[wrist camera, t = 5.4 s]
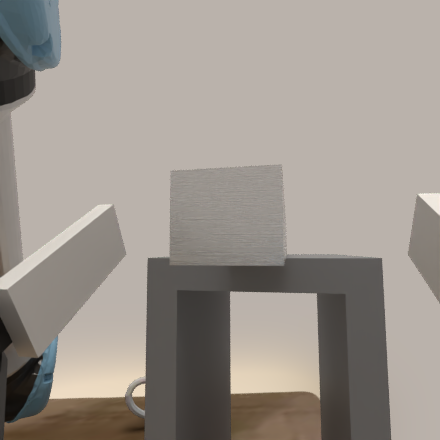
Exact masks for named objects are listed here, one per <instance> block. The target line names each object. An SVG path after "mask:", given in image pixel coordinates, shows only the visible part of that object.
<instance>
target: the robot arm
mask: <svg viewBox="0 0 440 440" xmlns="http://www.w3.org/2000/svg"><path fill="white" fill-rule="evenodd" d="M60 33H61V30H60V24H59V9H58V0H0V440H3V437H4V422H7V423H12V422H15V421H17V420H18V419H21V418H25V417H30V416H34V415H36V414H38V413H40V412H41V411H42V410H43V409H44V408H45V406H46V405H47V403H48V400H49V397H50V392H51V388H52V382H53V372H54V368H55V362H56V353H57V341H58V334H59V333H60V332H61V331H62V329H63V328H64V327H65V326H66V325H67V324H68V322H69V321H70V320H71V319H72V318H73V316H74V315H75V314H76V313H77V312H78V311H79V309H80V308H81V307H82V306H83V305H84V304H85V302H86V301H87V300H88V299H89V298H90V296H91V295H92V294H93V293H94V292H95V290H96V289H97V288H98V287H99V286H100V285H101V283H102V282H103V281H104V280H105V279H106V278H107V276H108V275H109V274H110V273H111V272H112V270H113V269H114V268H115V267H116V266H117V265H118V263H119V262H120V261H121V260H122V259H123V258H124V256H125V255H126V251H125V247H124V243H123V240H122V236H121V232H120V228H119V224H118V220H117V217H116V213H115V209H114V205H113V204H107V205H98V206H97V207H95V208H94V209H93V210H91V211H90V212H88V213H87V214H86V215H85V216H83V217H82V218H80V219H79V220H78V221H76V222H75V223H74V224H72V225H71V226H70V227H68V228H67V229H66V230H64V231H63V232H62V233H60V234H59V235H57V236H56V237H55V238H53V239H52V240H51V241H49V242H48V243H47V244H45V245H44V246H43V247H41V248H40V249H39V250H37V251H36V252H35V253H33V254H32V255H31V256H29V257H28V258H27V259H25V260H24V261H23V254H22V243H21V231H20V218H19V206H18V194H17V183H16V170H15V159H14V148H13V147H14V146H13V134H12V123H11V112H12V111H13V110H14V109H16V108H17V107H19V106H20V105H22V104H23V103H25V102H26V101H27V100H29V99H30V98H31V97H32V96H33V94H34V93H35V88H36V85H35V70H37V71H43V70H45V69H48V68H54V67H56V66H57V65H58V64H59V61H60V55H61V34H60ZM408 255H409V257H410V258H411V260H412V261H413V263H414V264H415V266H416V268H417V269H418V271H419V272H420V274H421V275H422V277H423V278H424V280H425V281H426V283H427V284H428V286H429V287H430V289H431V290H432V292H433V293H434V295H435V297H436V298H437V300H438V301H439V303H440V194H439V193H431V194H417V199H416V205H415V212H414V218H413V225H412V232H411V238H410V245H409V251H408Z"/></svg>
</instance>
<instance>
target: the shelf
mask: <svg viewBox="0 0 440 440" xmlns="http://www.w3.org/2000/svg"><path fill="white" fill-rule="evenodd" d="M147 273H148V274H147V328H146V329H147V330H146V385H145V440H231V395H230V291H238V292H282V293H284V292H285V293H317V308H318V339H319V372H320V404H321V435H322V440H391V428H390V408H389V389H388V369H387V350H386V331H385V309H384V289H383V270H382V258H372V257H359V256H347V255H346V256H345V255H286V260H285V264H284V266H216V265H170V257H158V258H148V272H147Z"/></svg>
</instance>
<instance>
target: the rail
mask: <svg viewBox="0 0 440 440" xmlns="http://www.w3.org/2000/svg"><path fill="white" fill-rule="evenodd" d="M170 187H171V188H170V198H171V199H170V265H216V266H284V264H285V260H286V255H287V253H286V252H287V251H286V250H287V249H286V220H285V205H284V190H283V175H282V165H267V166H249V167H230V168H214V169H195V170H177V171H171V186H170Z"/></svg>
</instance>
